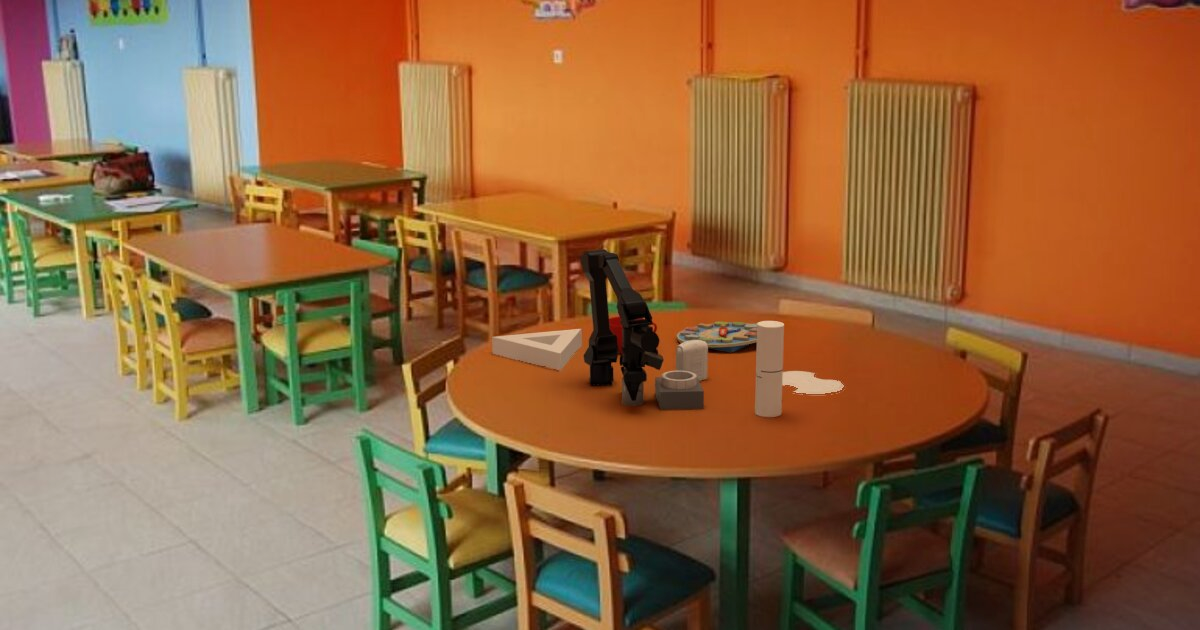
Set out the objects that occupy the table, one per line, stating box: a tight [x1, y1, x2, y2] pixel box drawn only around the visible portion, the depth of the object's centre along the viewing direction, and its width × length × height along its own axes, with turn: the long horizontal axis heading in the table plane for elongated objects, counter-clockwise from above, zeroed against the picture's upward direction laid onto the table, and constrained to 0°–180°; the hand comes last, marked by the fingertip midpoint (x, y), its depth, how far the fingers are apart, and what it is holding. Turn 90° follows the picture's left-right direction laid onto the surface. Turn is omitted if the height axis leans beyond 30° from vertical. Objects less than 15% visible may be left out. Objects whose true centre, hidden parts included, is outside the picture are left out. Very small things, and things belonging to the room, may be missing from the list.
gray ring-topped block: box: [654, 370, 705, 410], centre depth 338 cm, size 12×14×8 cm
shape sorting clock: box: [676, 321, 757, 353], centre depth 399 cm, size 31×30×6 cm
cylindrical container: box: [754, 320, 785, 418], centre depth 325 cm, size 7×7×25 cm
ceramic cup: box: [609, 316, 658, 355], centre depth 388 cm, size 13×17×10 cm
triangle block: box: [491, 328, 583, 372], centre depth 379 cm, size 30×26×6 cm
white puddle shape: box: [782, 370, 845, 394], centre depth 354 cm, size 20×2×25 cm
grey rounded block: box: [621, 377, 645, 407], centre depth 337 cm, size 6×6×7 cm
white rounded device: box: [675, 340, 709, 382], centre depth 356 cm, size 10×4×12 cm, turn 123°
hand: (632, 397), depth 338 cm, fingers closed on grey rounded block, 6 cm apart
